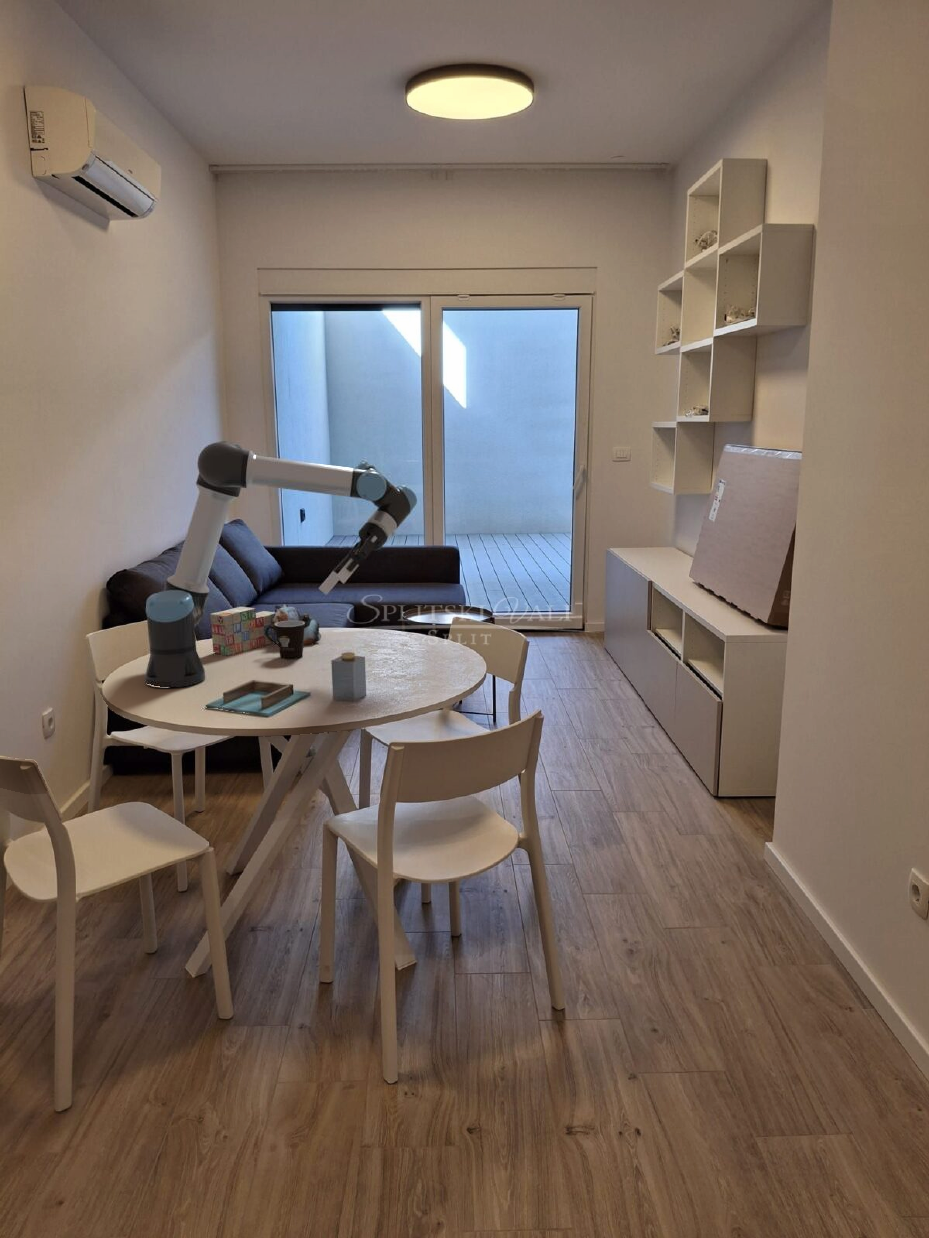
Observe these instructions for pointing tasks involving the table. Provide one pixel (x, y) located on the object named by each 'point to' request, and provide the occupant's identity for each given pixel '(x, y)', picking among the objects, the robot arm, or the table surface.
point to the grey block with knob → (348, 677)
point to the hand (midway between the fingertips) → (330, 585)
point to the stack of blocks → (241, 630)
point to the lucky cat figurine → (292, 614)
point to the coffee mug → (289, 638)
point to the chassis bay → (259, 698)
